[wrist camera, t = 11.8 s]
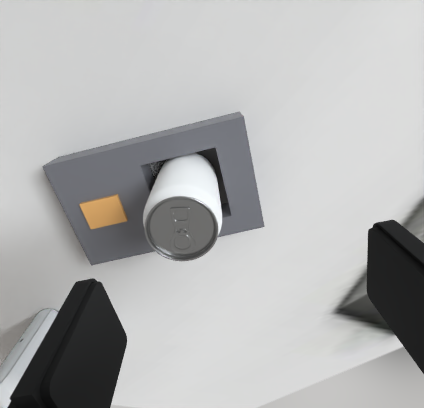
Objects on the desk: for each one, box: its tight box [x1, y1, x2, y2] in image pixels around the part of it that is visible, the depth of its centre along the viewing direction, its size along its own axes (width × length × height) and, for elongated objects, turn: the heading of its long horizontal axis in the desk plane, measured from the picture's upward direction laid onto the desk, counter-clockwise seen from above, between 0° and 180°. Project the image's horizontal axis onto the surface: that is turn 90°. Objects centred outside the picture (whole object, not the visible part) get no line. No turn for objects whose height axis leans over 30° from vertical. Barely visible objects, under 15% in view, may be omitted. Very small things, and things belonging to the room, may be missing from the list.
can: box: [143, 153, 222, 261], centre depth 28 cm, size 6×6×12 cm
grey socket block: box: [42, 112, 264, 265], centre depth 32 cm, size 12×20×4 cm, turn 103°
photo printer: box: [0, 309, 58, 408], centre depth 37 cm, size 10×4×12 cm, turn 32°
